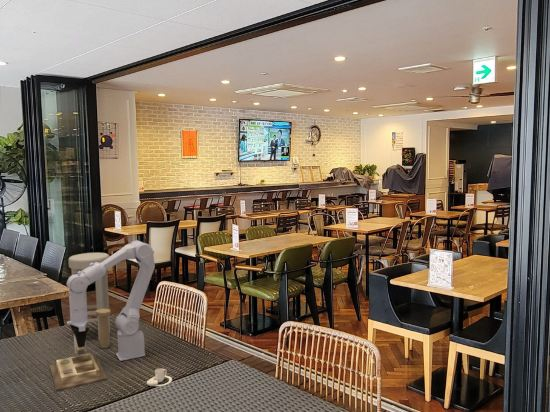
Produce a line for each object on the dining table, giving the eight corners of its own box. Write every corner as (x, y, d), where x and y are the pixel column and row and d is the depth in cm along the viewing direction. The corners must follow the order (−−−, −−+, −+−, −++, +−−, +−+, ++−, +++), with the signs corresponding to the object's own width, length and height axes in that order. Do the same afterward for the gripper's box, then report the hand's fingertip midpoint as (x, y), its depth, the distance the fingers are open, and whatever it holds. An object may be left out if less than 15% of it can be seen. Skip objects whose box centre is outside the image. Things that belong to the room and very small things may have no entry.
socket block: (96, 357, 185) (95, 349, 184) (107, 379, 166) (106, 370, 165) (49, 366, 177) (49, 358, 177) (56, 391, 158) (55, 381, 158)
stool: (80, 331, 214) (75, 253, 211) (116, 329, 216) (112, 251, 212) (69, 344, 199) (63, 260, 195) (108, 342, 200) (103, 258, 197)
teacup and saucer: (148, 390, 158) (148, 378, 158) (143, 380, 165) (142, 369, 165) (175, 384, 162) (174, 372, 162) (168, 375, 169) (168, 363, 169)
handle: (104, 350, 191) (102, 313, 190) (95, 347, 195) (93, 310, 194) (115, 346, 195) (113, 310, 194) (105, 343, 199) (103, 307, 197)
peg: (85, 349, 178) (84, 330, 178) (87, 352, 175) (86, 333, 174) (73, 351, 176) (72, 332, 176) (75, 355, 173) (74, 335, 172)
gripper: (63, 304, 178) (66, 340, 180) (68, 315, 166) (71, 354, 167) (84, 301, 182) (86, 337, 183) (90, 312, 169) (92, 349, 171)
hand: (80, 344), depth 175 cm, fingers closed on peg, 4 cm apart
